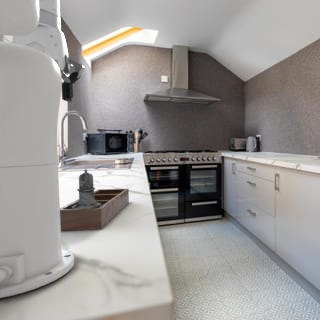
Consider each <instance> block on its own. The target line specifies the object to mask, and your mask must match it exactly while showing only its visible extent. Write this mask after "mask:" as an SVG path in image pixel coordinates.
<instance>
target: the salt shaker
mask: <svg viewBox="0 0 320 320" xmlns="http://www.w3.org/2000/svg"><path fill="white" fill-rule="evenodd" d="M78 187H79V188H78V189H77V190H76V191H77V192H78V199H79V201H78V204H77V205H74V206H73V207H72V209H92V208H100V206H101V205H102V204H101V203H97V202H96V201H95V198H94V191H96V187H94V175H93V174H92V173H89V172H88V169H87V168H85V169H84V172H83V173H81V174H80V175H79V176H78Z"/></svg>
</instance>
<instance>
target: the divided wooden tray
mask: <svg viewBox="0 0 320 320" xmlns="http://www.w3.org/2000/svg"><path fill="white" fill-rule="evenodd" d="M94 198H95V201H96V202H97V203H101V204H102V205H101V206H100V208H92V209H72V207H73V206H74V205H77V204H78V201H79V198H78V199H77V200H74V201H73V202H71V203H68V204H66V205H64V206H62V207H60V225H61V232H67V231H85V230H102V229H103V228H104V227H105V226H106V225H107V224H108V223H109V222H110V221H111V220H112V219H113V218H114V217H116V216H117V215H118V214H119V213H120V212H121V211H122V210H123V209H124V208H125V207H126V206H127V205H128V204H129V203H130V191H129V188H106V189H105V188H103V189H100V188H99V189H95V190H94Z"/></svg>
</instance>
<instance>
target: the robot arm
mask: <svg viewBox="0 0 320 320" xmlns="http://www.w3.org/2000/svg"><path fill="white" fill-rule="evenodd" d="M60 3H61V0H0V36H8V37H9V36H10V37H11V42H8V41H2V40H0V299H2V298H8V297H13V296H15V295H20V294H24V293H27V292H30V291H34V290H37V289H38V288H41V287H44V286H46V285H48V284H50V283H52V282H55V281H56V280H58V279H60V278H62V277H63V276H65V275H66V274H67V273H68V272H70V270H72V268H73V267H74V265H75V255H74V254H73V253H72V251H70V250H66V249H63V247H62V231H61V225H60V208H61V204H60V202H61V201H60V183H59V182H60V180H59V160H58V158H59V156H58V122H59V112H60V104H61V99H62V100H63V101H65V102H68V103H72V101H73V98H74V85H75V84H76V82H77V81H78V80H80V78H81V76H82V74H83V72H84V71H85V66H84V65H82V64H81V63H79V62H77V61H76V60H74V59H71V58H70V57H69V51H68V46H67V41H66V37H65V34H64V32H63V31H62V30H61V29H62V28H61V27H62V25H61V5H60ZM70 66H71V67H74V70H73V72H72V73H70V72H71V71H70V70H71V67H70Z"/></svg>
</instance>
